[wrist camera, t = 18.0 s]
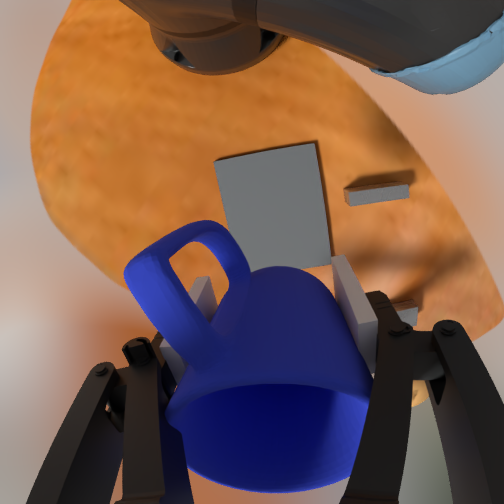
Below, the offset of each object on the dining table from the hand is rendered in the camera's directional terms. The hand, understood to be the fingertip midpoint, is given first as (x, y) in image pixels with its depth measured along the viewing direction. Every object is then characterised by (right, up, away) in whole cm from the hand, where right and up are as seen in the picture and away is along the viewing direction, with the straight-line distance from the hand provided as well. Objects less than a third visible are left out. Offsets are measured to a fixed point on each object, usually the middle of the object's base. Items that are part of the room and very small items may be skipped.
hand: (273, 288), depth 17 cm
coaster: (+1, +6, +17) cm, 18 cm away
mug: (-1, 0, +1) cm, 1 cm away
